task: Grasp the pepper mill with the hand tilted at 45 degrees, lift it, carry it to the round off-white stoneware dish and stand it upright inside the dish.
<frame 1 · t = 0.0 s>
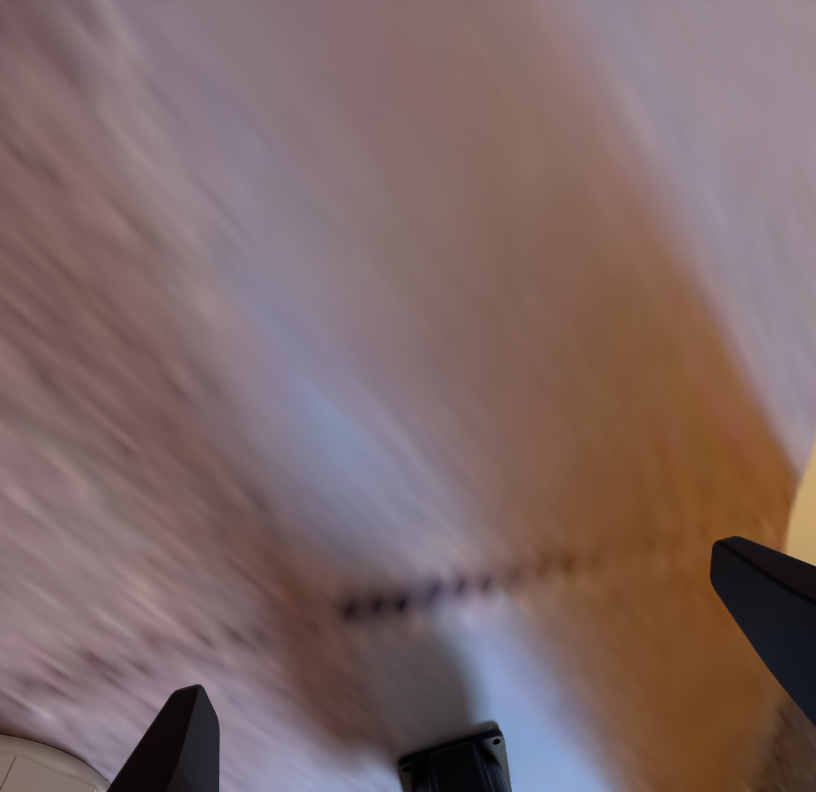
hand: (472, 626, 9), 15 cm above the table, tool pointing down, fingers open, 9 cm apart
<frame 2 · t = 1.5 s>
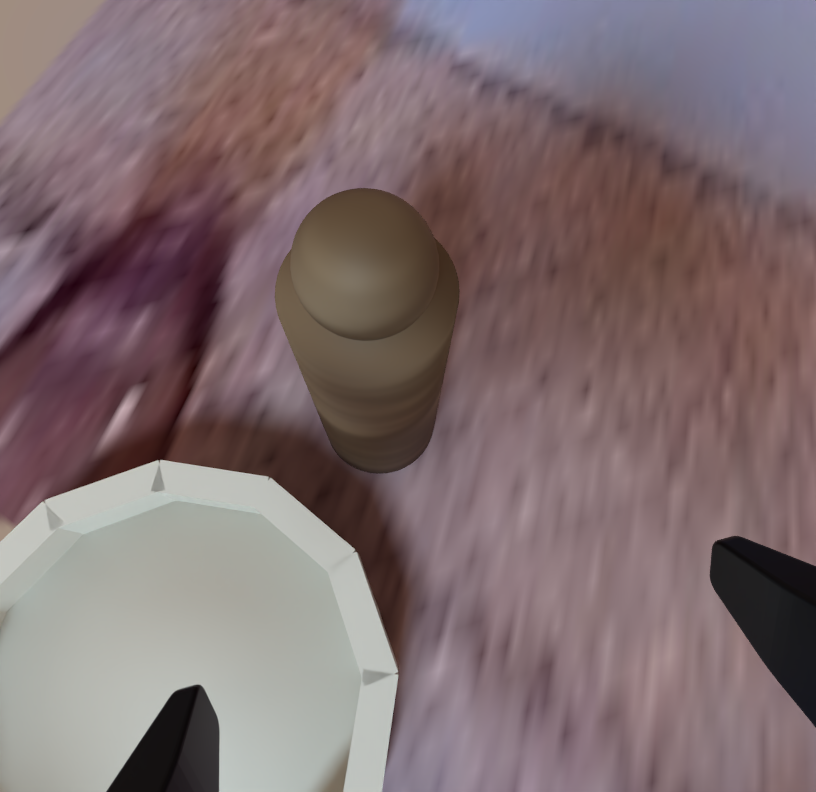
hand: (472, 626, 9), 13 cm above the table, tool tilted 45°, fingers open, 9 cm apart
pepper mill: (380, 420, 25), on the table
dish: (178, 692, 21), on the table
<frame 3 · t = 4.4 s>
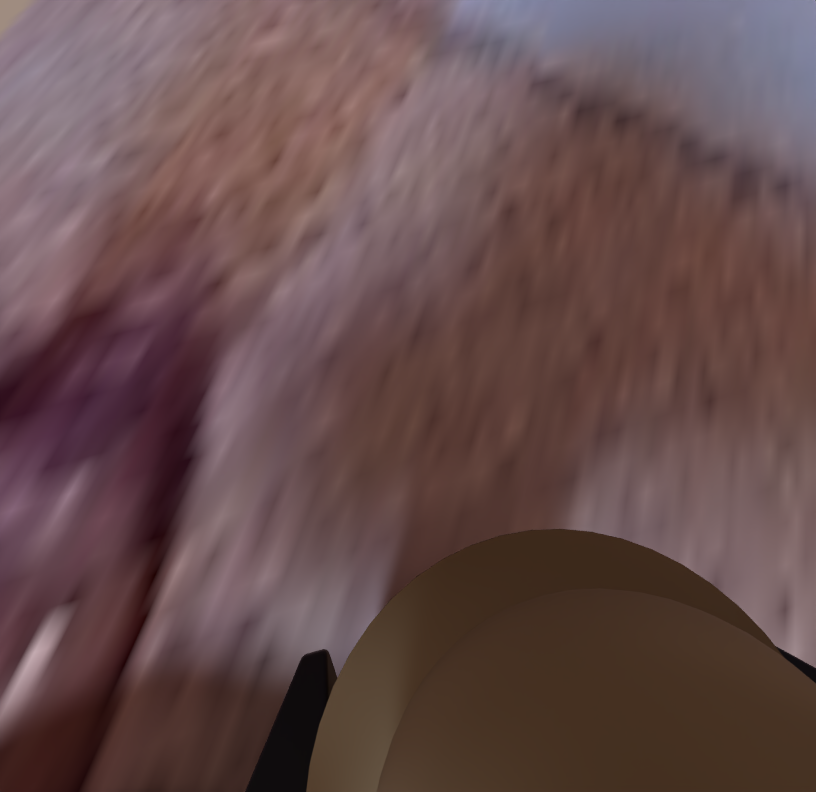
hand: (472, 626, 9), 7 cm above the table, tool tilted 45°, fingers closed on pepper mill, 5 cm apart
pepper mill: (455, 671, 15), on the table, touching gripper
when the fingers open (9 cm above the table, at t = 7.6 s): pepper mill drops 1 cm, resting on dish.
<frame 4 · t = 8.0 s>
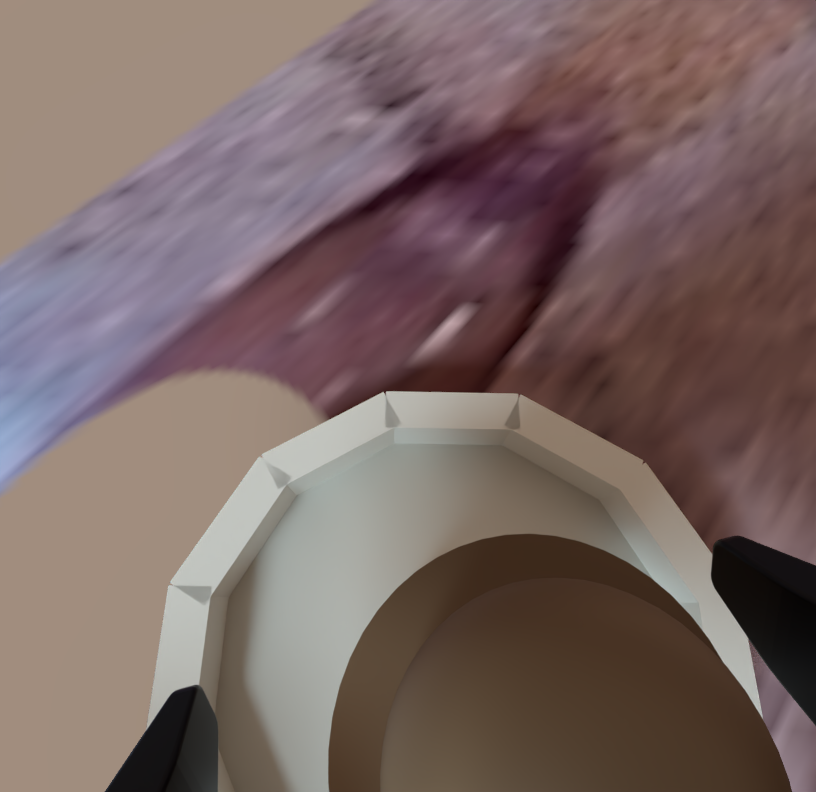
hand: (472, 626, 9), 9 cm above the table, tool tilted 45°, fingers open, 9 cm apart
pepper mill: (451, 668, 16), point 1 cm above the table, touching dish
dish: (448, 662, 17), on the table
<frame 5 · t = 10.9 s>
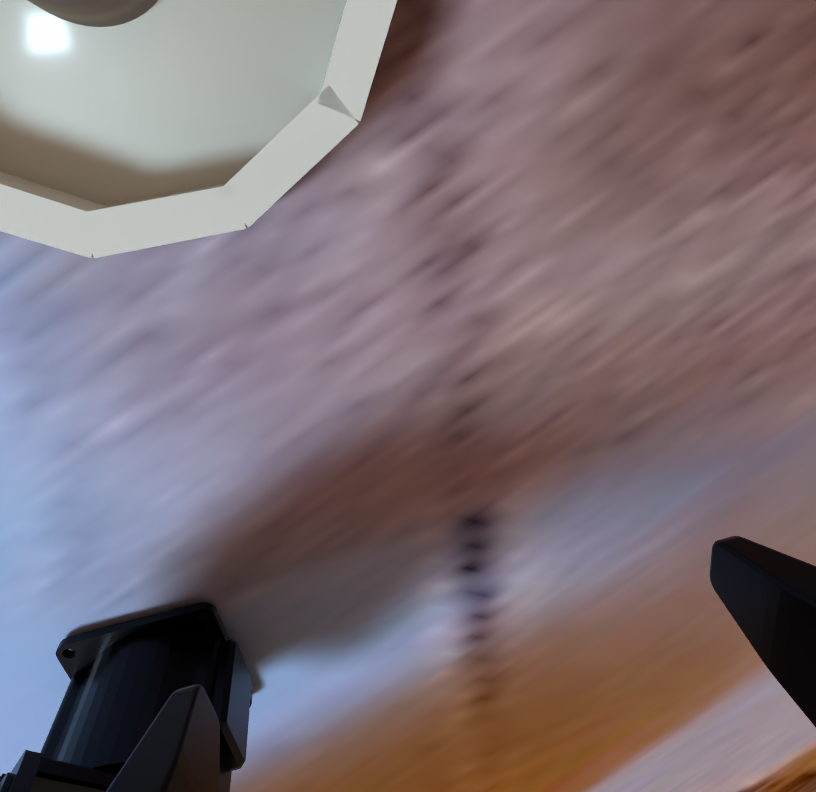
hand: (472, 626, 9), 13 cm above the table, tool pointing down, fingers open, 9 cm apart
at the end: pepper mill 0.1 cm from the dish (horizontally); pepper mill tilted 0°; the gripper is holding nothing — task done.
